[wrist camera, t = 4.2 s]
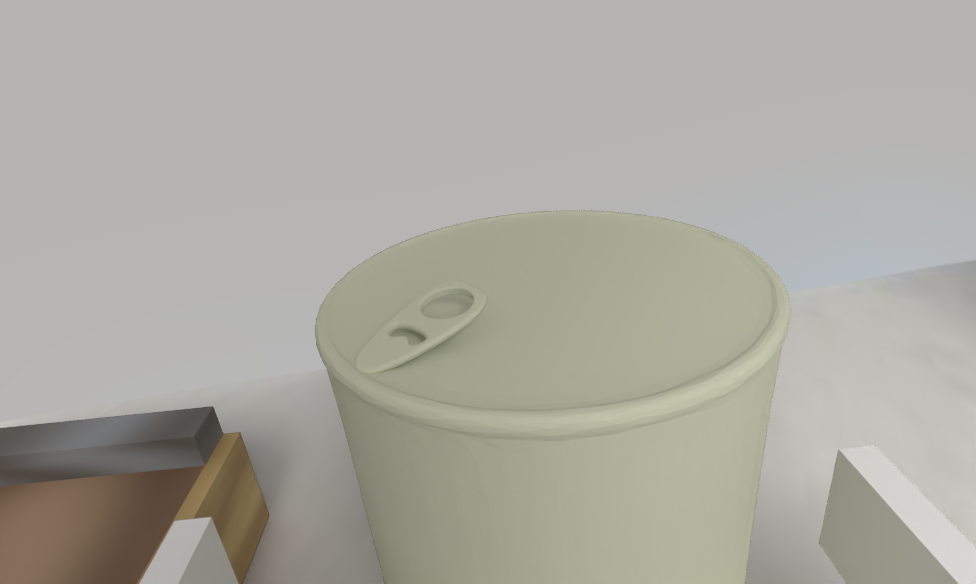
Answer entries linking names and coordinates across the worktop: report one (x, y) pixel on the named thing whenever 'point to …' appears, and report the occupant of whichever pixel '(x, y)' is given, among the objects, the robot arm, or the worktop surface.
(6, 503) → the brown wooden tray
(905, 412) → the worktop surface
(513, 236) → the can
